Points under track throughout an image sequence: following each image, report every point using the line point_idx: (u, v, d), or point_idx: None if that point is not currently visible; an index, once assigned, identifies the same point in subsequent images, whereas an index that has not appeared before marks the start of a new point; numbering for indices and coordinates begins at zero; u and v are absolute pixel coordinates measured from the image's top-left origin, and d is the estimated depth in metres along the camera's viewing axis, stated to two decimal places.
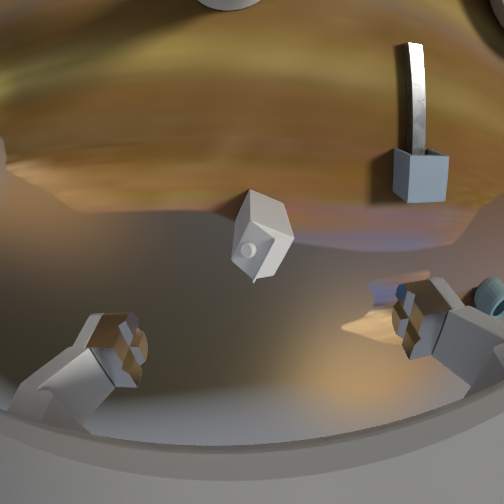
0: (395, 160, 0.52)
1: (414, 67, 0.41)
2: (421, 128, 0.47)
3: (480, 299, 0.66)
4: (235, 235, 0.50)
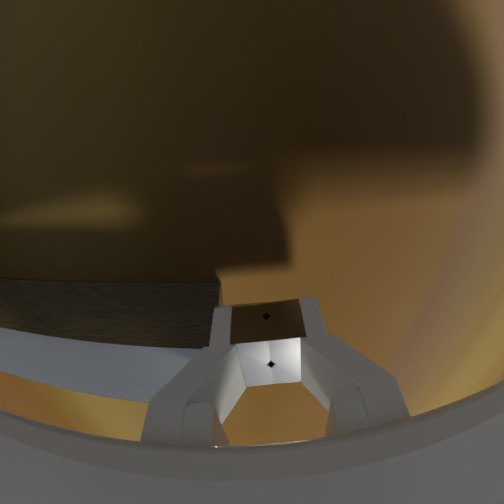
0: None
1: (67, 355, 0.08)
2: None
3: None
4: None
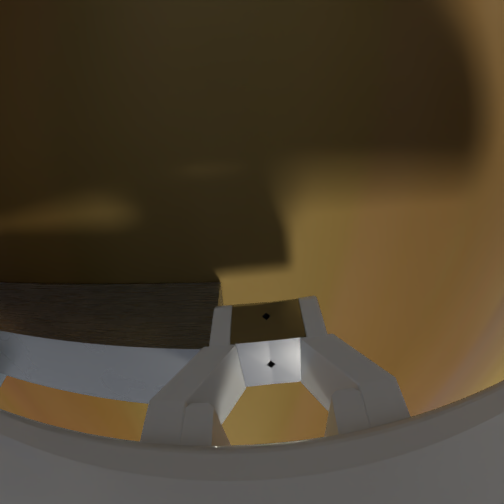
0: None
1: (68, 357, 0.08)
2: None
3: None
4: None
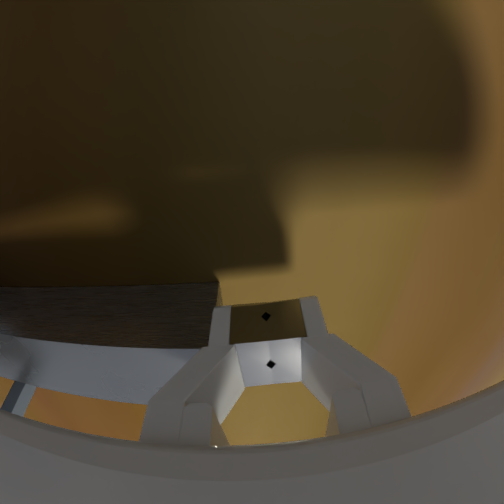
0: None
1: (69, 359, 0.08)
2: None
3: None
4: None
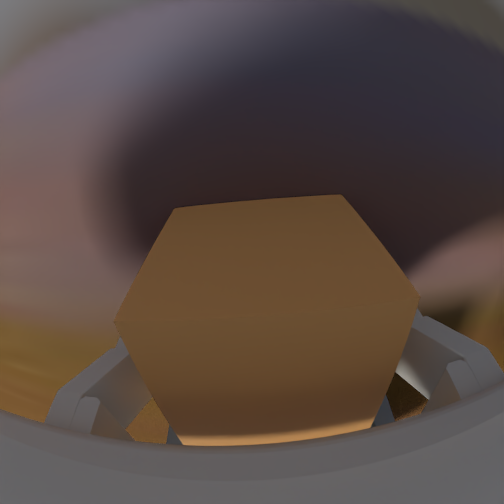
0: None
1: None
2: None
3: None
4: None
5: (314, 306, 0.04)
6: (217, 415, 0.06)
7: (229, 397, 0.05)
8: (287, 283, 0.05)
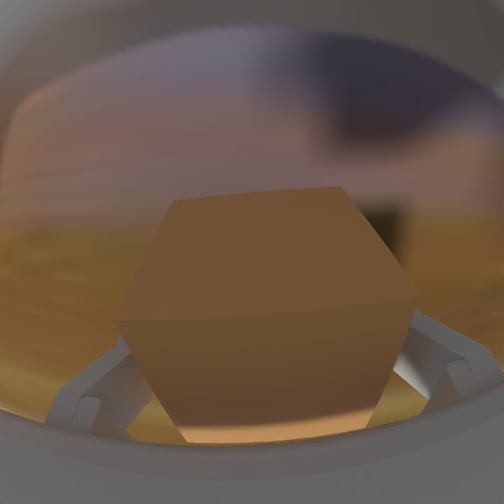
0: None
1: None
2: None
3: None
4: None
5: (314, 304, 0.04)
6: (218, 410, 0.06)
7: (229, 392, 0.06)
8: (287, 279, 0.05)
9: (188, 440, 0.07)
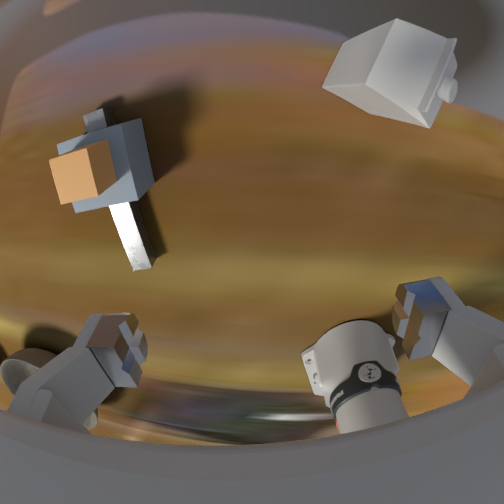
0: (149, 168, 0.36)
1: (135, 238, 0.39)
2: None
3: None
4: None
5: (72, 152, 0.24)
6: (64, 183, 0.26)
7: (65, 176, 0.25)
8: (73, 151, 0.25)
9: (61, 203, 0.27)
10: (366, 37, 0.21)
